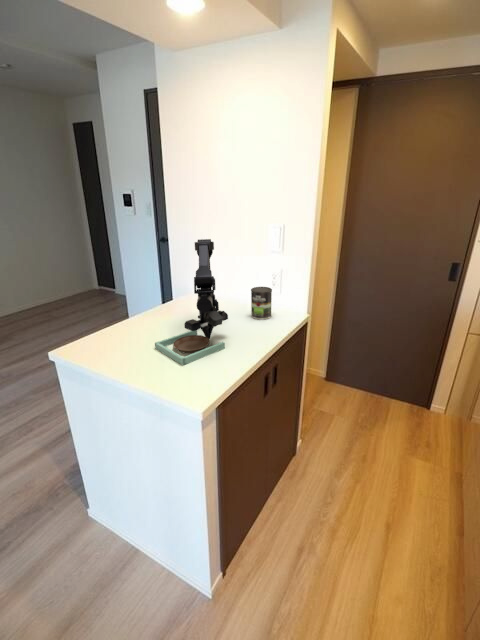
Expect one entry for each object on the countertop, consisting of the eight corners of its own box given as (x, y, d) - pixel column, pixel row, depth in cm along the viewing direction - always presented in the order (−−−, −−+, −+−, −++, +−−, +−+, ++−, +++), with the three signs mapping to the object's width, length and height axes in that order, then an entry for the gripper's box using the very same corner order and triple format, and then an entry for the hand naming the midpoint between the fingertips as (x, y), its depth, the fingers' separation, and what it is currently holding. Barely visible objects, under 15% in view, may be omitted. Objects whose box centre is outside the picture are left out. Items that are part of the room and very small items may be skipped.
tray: (155, 348, 135) (154, 342, 134) (195, 334, 148) (195, 329, 147) (182, 365, 121) (182, 359, 120) (225, 348, 134) (224, 342, 133)
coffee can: (268, 320, 161) (268, 292, 156) (248, 318, 165) (247, 291, 160) (274, 313, 170) (274, 287, 165) (255, 311, 173) (255, 285, 168)
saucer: (166, 353, 131) (166, 347, 130) (184, 339, 144) (183, 333, 143) (201, 358, 126) (200, 352, 125) (215, 342, 139) (215, 336, 138)
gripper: (198, 314, 123) (201, 352, 128) (235, 302, 134) (237, 337, 140) (182, 308, 130) (185, 343, 136) (218, 297, 142) (220, 330, 148)
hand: (208, 339), depth 140 cm, fingers closed
